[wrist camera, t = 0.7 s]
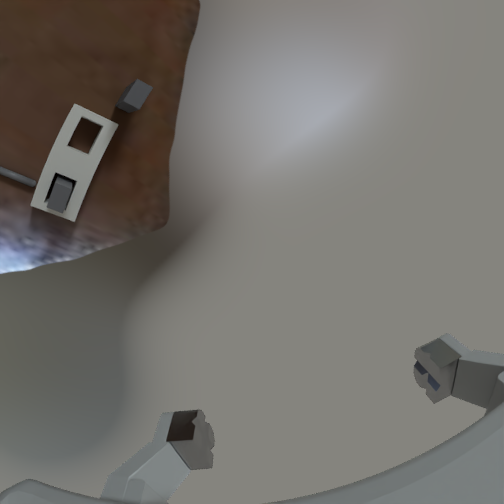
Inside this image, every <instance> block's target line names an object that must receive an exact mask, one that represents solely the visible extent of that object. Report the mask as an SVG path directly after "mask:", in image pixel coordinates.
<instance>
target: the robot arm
mask: <svg viewBox="0 0 504 504" xmlns="http://www.w3.org/2000/svg"><path fill="white" fill-rule="evenodd" d="M415 358H416V359H417V362H416V364H415V365H414V376H415V379H416V381H417V383H418V385H419V386H420V387H422V388H425V389H426V395H427V396H428V397H429V398H430V400H431V401H432V402H433V403H434V404H435V403H436V402H438V401H440V400H442V399H444V398H446V397H448V396H450V395H452V396H454V397H457V398H459V399H462V400H464V401H467V402H470V403H472V404H475V405H478V406H481V407H483V408H486V409H487V410H486V413H485V415H484V417H482V418H481V419H479V420H478V421H477V422H475V423H474V424H472V425H471V426H469V427H468V428H466V429H465V430H463V431H461V432H460V433H458V434H457V435H455V436H453V437H452V438H450V439H449V440H447V441H445V442H443V443H442V444H440V445H438V446H436V447H434V448H432V449H431V450H429V451H427V452H425V453H423V454H421V455H419V456H417V457H415V458H413V459H411V460H409V461H407V462H404V463H402V464H400V465H398V466H396V467H393V468H391V469H389V470H386V471H384V472H381V473H379V474H376V475H374V476H371V477H368V478H365V479H363V480H360V481H357V482H354V483H351V484H348V485H345V486H341V487H338V488H335V489H331V490H328V491H324V492H320V493H316V494H312V495H308V496H303V497H299V498H294V499H289V500H284V501H278V502H271V503H264V504H504V354H498V353H492V352H485V351H478V350H473V351H470V350H469V349H468V348H467V347H465V346H464V345H463V344H462V343H460V342H459V341H458V340H457V339H455V338H454V337H453V336H452V335H450V334H447V333H446V334H445V335H442V336H441V337H439V338H437V339H435V340H433V341H431V342H429V343H427V344H425V345H423V346H420V347H418V348H416V350H415ZM214 441H215V440H214V433H213V430H212V428H211V426H210V424H209V423H207V422H205V415H204V413H203V412H202V410H190V411H178V412H167V413H162V414H161V416H160V419H159V422H158V425H157V429H156V432H155V435H154V438H153V441H152V443H148V444H147V445H145V447H143V448H142V449H141V450H139V451H138V452H137V453H136V454H135V455H133V456H132V457H131V458H130V459H129V460H127V461H126V462H125V463H124V464H122V465H121V466H120V467H119V468H117V469H116V470H115V471H114V472H112V473H111V474H110V475H109V476H108V478H107V481H106V484H105V486H104V489H103V492H102V494H101V497H100V499H98V498H94V497H90V496H85V495H82V494H78V493H74V492H70V491H67V490H63V489H60V488H57V487H54V486H50V485H48V484H45V483H42V482H39V481H37V480H33V479H26V480H24V481H22V482H19V483H17V484H15V485H14V486H12V487H10V488H8V489H6V490H4V491H3V492H1V493H0V504H168V503H167V502H166V501H167V500H168V499H169V498H170V496H171V495H172V494H173V493H174V492H175V490H176V489H177V488H178V487H179V485H180V484H181V483H182V482H183V480H184V479H185V478H186V477H187V475H188V474H189V473H190V471H191V470H197V469H208V468H212V466H213V453H212V452H211V449H212V448H213V447H214Z"/></svg>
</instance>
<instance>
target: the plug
mask: <svg viewBox="0 0 504 504" xmlns="http://www.w3.org/2000/svg"><path fill="white" fill-rule="evenodd" d="M152 88H153V87H151V86H149V85H147V84H146V83H144V82H142V81H140V80H138V79H136V80H135V81H134V82H133V83H131V84H130V85H129V86H127V87H126V89H125V91H124V92H123V94H122V95H121V97H120V99H119V100H118V102H117V104H116V105H115V106H116V107H118V108H120V109H122V110H124V111H126V112H128V113H130V112H133V111H136V110H139V109H140V108H141V106H142V104H143V103H144V101H145V99H146V98H147V96H148V95H149V93H150V92H151V90H152Z"/></svg>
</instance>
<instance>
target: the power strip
mask: <svg viewBox="0 0 504 504" xmlns="http://www.w3.org/2000/svg"><path fill="white" fill-rule="evenodd" d="M81 117H83V118H85V119H87V120H89V121H91V122H93V123H95V124H98V125H100V126H102V127H101V129H100V131H99V133H98V135H97V137H96V139H95V140H94V142H93V144H92V147H91V149H90V151H89V153H88V154H86V153H84V152H82V151H80V150H77V149H75V148H73V147H70V146H68V143H69V141H70V139H71V136H72V134H73V132H74V130H75V128H76V127H77V125H78V123H79V121H80V119H81ZM117 127H118V124H116V123H114V122H112V121H110V120H108V119H106V118H104V117H102V116H100V115H98V114H96V113H94V112H92V111H89V110H87V109H85V108H83V107H81V106H79V105H77V104H74V106H73V107H72V109H71V111H70V113H69V115H68V117H67V119H66V121H65V122H64V124H63V126H62V128H61V130H60V133H59V135H58V137H57V139H56V141H55V143H54V145H53V148H52V150H51V152H50V154H49V157H48V159H47V161H46V164H45V166H44V169H43V171H42V174H41V177H40V179H39V182H38V185H37V187H36V190H35V193H34V196H33V199H32V202H31V205H30V206H33V207H36V208H38V209H41V210H44V211H46V212H49V213H52V214H54V215H57V216H60V217H62V218H65V219H68V220H71V221H73V222H75V219H76V217H77V214H78V211H79V209H80V206H81V204H82V201H83V199H84V196H85V194H86V191H87V189H88V187H89V184H90V182H91V180H92V177H93V175H94V173H95V171H96V168H97V166H98V164H99V162H100V160H101V158H102V156H103V154H104V152H105V150H106V148H107V146H108V144H109V142H110V140H111V138H112V136H113V134H114V132H115V131H116V129H117ZM55 172H56V173H59V174H61V175H64V176H66V177H69V178H71V179H73V180H76V182H75V184H74V187H73V189H72V180H70V179H68V178H66V177H63V176H61V175H58V177H57V179H56V182H55V184H54V187H53V189H52V192H51V195H50V198H49V199H47V198H46V196H47V193H48V190H49V188H50V185H51V182H52V180H53V177H54V175H55ZM0 174H1V175H3V176H6V177H8V178H11V179H13V180H16V181H18V182H21V183H23V184H26V185H28V186H31V187H34V186H35V185H36V181H35V180H32V179H30V178H27V177H25V176H22V175H20V174H17V173H15V172H12V171H10V170H8V169H5V168H3V167H0ZM71 191H72V192H71ZM70 193H71V194H70ZM69 196H70V197H69ZM68 198H69V199H68ZM67 201H68V202H67ZM66 203H67V205H66Z"/></svg>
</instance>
